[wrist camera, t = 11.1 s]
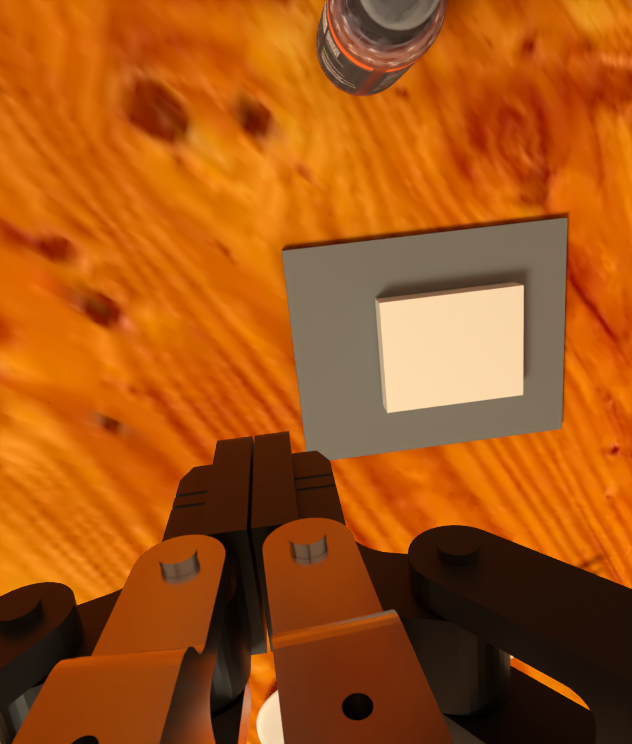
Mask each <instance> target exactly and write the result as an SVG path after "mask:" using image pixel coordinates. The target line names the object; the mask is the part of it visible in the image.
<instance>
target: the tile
mask: <svg viewBox="0 0 632 744" xmlns="http://www.w3.org/2000/svg"><path fill="white" fill-rule="evenodd" d="M375 305H376V319H377V332H378V345H379V358H380V372H381V385H382V398H383V406H384V408H385V409H386V411H387V413H391V412H398V411H406V410H414V409H421V408H429V407H436V406H444V405H451V404H459V403H466V402H474V401H481V400H489V399H496V398H504V397H511V396H519V395H523V330H524V285H521V284H518V283H515V282H510V283H501V284H493V285H485V286H477V287H469V288H461V289H452V290H444V291H436V292H428V293H420V294H411V295H403V296H395V297H387V298H379V299H375Z"/></svg>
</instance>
